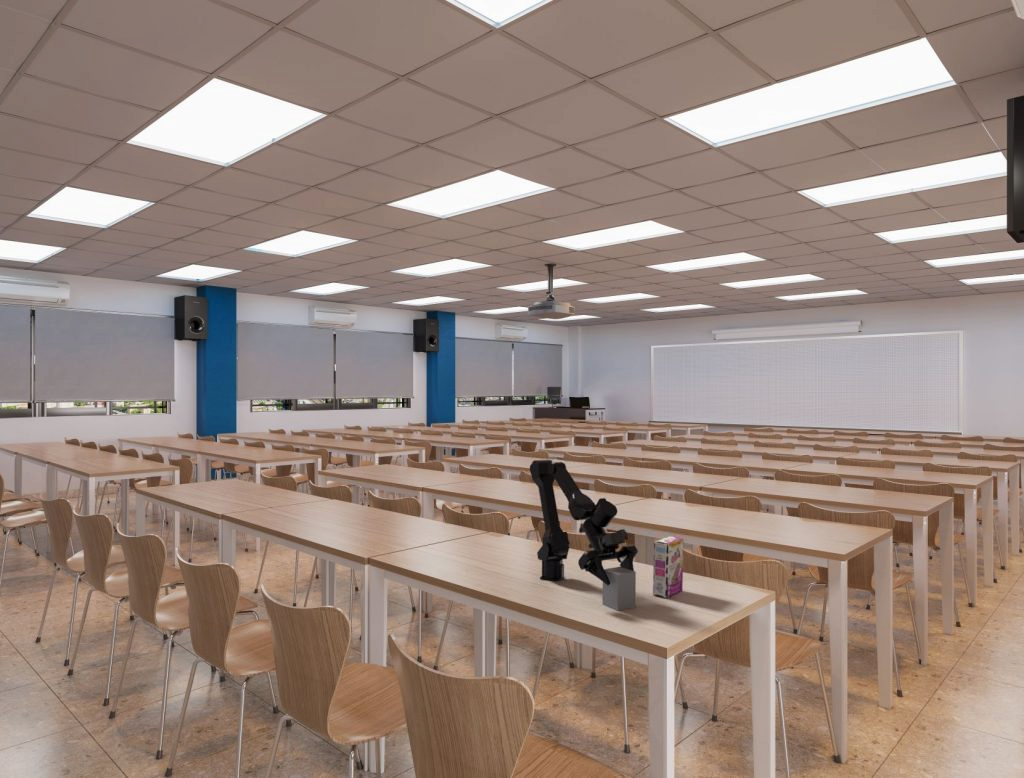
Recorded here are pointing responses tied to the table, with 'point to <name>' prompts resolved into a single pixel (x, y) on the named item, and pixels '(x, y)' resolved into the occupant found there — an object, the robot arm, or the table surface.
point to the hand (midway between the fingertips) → (621, 582)
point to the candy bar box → (668, 566)
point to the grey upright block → (620, 589)
